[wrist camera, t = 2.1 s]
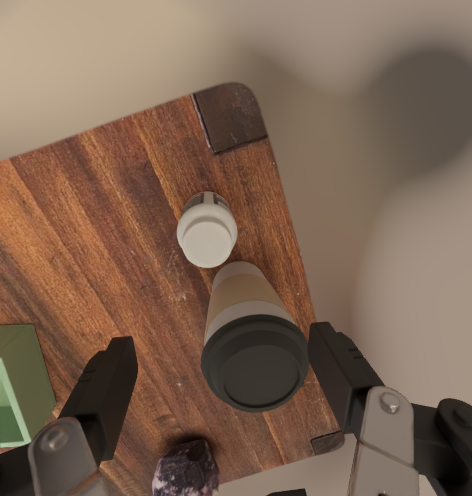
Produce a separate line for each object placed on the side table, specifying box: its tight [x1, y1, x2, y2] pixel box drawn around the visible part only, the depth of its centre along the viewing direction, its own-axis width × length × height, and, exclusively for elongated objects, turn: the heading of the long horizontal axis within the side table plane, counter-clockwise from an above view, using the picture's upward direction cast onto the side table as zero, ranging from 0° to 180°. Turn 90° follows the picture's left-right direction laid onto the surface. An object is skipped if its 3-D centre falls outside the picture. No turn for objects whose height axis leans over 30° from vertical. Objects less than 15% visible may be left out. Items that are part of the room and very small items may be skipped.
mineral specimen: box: [152, 440, 220, 496], centre depth 40 cm, size 10×10×10 cm
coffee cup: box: [201, 261, 310, 412], centre depth 27 cm, size 9×9×15 cm
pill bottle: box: [177, 191, 237, 268], centre depth 26 cm, size 5×5×10 cm
